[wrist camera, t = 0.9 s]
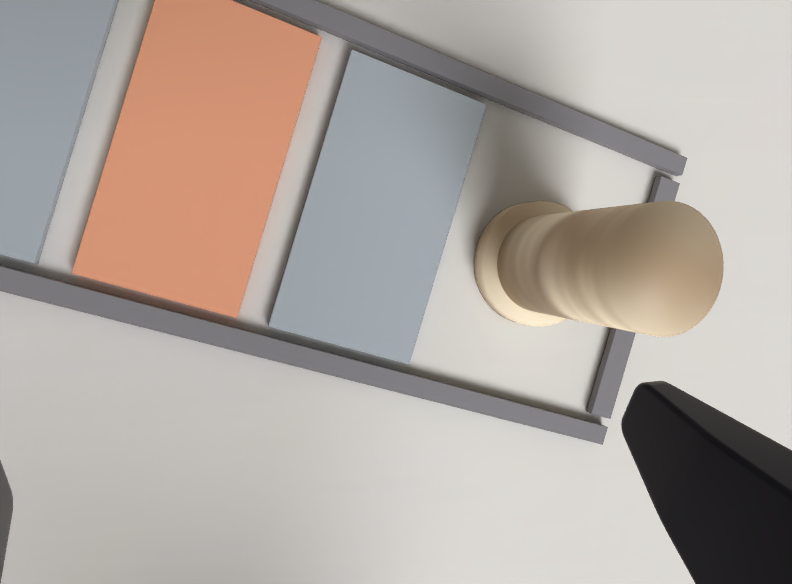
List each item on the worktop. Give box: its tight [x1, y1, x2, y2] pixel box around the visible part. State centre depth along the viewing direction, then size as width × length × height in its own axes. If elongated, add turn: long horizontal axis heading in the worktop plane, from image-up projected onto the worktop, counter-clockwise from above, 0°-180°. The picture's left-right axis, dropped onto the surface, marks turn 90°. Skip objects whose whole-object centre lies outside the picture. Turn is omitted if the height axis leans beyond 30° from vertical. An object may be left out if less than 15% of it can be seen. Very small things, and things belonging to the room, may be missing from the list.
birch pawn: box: [474, 201, 723, 337], centre depth 22 cm, size 5×5×8 cm
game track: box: [0, 0, 687, 445], centre depth 23 cm, size 13×30×1 cm, turn 73°
